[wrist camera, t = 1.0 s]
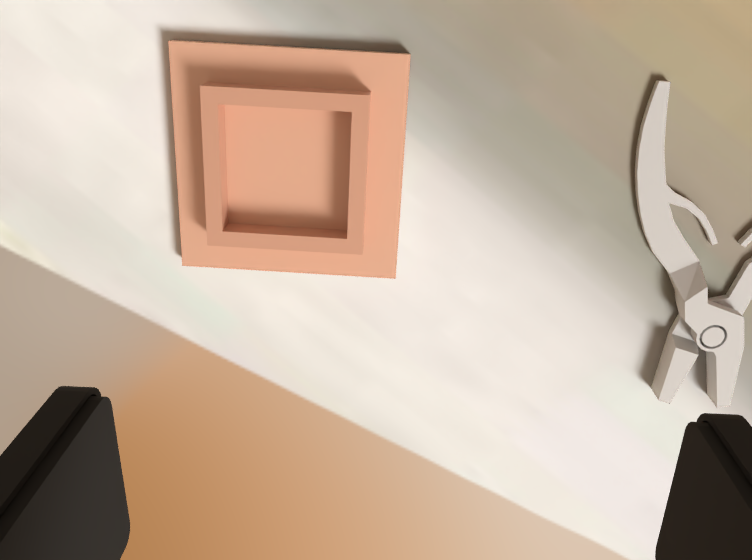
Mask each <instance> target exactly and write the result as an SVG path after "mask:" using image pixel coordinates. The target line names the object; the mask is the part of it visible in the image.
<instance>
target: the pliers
mask: <svg viewBox="0 0 752 560" xmlns="http://www.w3.org/2000/svg"><path fill="white" fill-rule="evenodd" d="M669 90H670V82H669V81H663V80H656V82H655V84H654V87H653V90H652V92H651V95H650V98H649V101H648V103H647V106H646V110H645V113H644V116H643V119H642V123H641V126H640V132H639V138H638V143H637V149H636V161H635V191H636V199H637V207H638V213H639V217H640V222H641V226H642V230H643V233H644V235H645V237H646V240H647V242H648V245H649V247H650V249H651V251H652V252H653V253H654V255H655V256H656V257H657V259H658V260H659V261H660V263H661V264H662V265H663V267H664V268H665V269H666V270H667V273H668V275H669V278H670V280H671V282H672V285H673V287H674V290H675V300H676V304H677V307H678V311H679V314H678V315H677V317H676V319H675V321H674V323H673V324H672V326H671V328H670V330H669V332H668V335H667V338H666V342H665V345H664V348H663V351H662V354H661V357H660V360H659V364H658V367H657V370H656V373H655V376H654V379H653V382H652V385H651V389H652V390H653V392H654V394H655V395H656V397H657V399H658V400H659V401H662V402H666V403H669V404H670V402H671V401H672V399H673V397H674V396H675V394H676V392H677V391H678V389H679V387H680V386H681V384H682V382H683V381H684V379H685V377H686V376H687V374H688V372H689V371H690V369H691V367H692V366H693V364H694V362H695V361H696V359H697V357H698V355H699V351H698V346H699V347H700V348H701V349H702V350H704V351H706V374H707V395H708V396H709V398H710V399H711V400H712V402H713V403H714V404H715V406H716V407H717V408H721V407H728V406H730V404H731V400H732V396H733V391H734V387H735V383H736V379H737V375H738V370H739V366H740V362H741V358H742V354H743V349H744V317H743V316H742V315H743V313H744V311H745V310H746V308H747V306H748V304H749V303H750V301H751V299H752V257H751V258H749V259H748V260H747V261H745V263H744V264H743V266H742V268H741V270H740V271H739V273H738V275H737V276H736V278H735V280H734V281H733V283H732V285H731V286H730V288H729V290H728V292H727V293H726V295H722V296H716V297H711V298H708V288H707V284H706V281H705V277H704V274H703V271H702V268H701V265H700V261H699V260H698V258H697V257H696V255H695V254H694V252H693V251H692V249H691V248H690V246H689V245H688V243H687V242H686V240H685V239H684V237H683V236H682V234H681V232H680V230H679V229H678V227H677V225H676V224H675V222H674V220H673V216H672V212H671V209H670V205H669V203H671V204H674V205H677V206H680V207H684V208H687V209H688V210H689V211H690V212H691V213H693V214H694V215H695V216H696V217H697V219H698V221H699V222H700V224H701V225H702V227H703V229H704V231H705V234H706V236H707V238H708V241H709V243H710V244H712V245H714V244H717V243H718V242H717V239H716V237H715V234H714V231H713V228H712V227H711V225H710V223H709V221H708V219H707V218H706V216H705V214H704V213H703V212H702V211H701V210H700V209H699V208H698V207H696V206H695V205H694V204H693V203H692V202H691V201H690V200H688V199H687V198H685V197H683V196H681V195H679V194H678V193H676V192H674V191H673V190H672V189H671V188H670V187H669V186H668V185H667V184H666V174H665V153H664V145H665V129H666V116H667V105H668V97H669ZM751 241H752V227H751V228H750V229H749V230H748V231H747V232H746V233H745V234H744V235H743V236H742V237H741V238H740V239H739V240H738V243H739V244H741V245H742V246H744V247H746V246H747V245H748V244H749V243H750V242H751Z"/></svg>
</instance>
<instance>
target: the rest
mask: <svg viewBox="0 0 752 560" xmlns="http://www.w3.org/2000/svg"><path fill="white" fill-rule="evenodd" d="M168 44H169V60H170V76H171V92H172V108H173V124H174V140H175V156H176V171H177V187H178V203H179V219H180V235H181V251H182V266H196V267H213V268H229V269H246V270H262V271H279V272H295V273H312V274H328V275H345V276H361V277H377V278H394V279H395V278H396V263H397V248H398V233H399V218H400V203H401V189H402V174H403V159H404V144H405V129H406V115H407V100H408V85H409V70H410V55H411V54H410V53H395V52H377V51H359V50H342V49H324V48H307V47H289V46H271V45H254V44H236V43H219V42H201V41H183V40H170V41H168Z"/></svg>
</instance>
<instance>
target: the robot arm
mask: <svg viewBox="0 0 752 560" xmlns="http://www.w3.org/2000/svg"><path fill="white" fill-rule="evenodd" d="M129 533H130V520H129V514H128V507H127V501H126V494H125V488H124V482H123V475H122V469H121V462H120V456H119V450H118V444H117V436H116V431H115V425H114V417H113V411H112V405H111V401H110V399H109V398H108V397H101V394H100V392H99V390H98V389H97V388H95V387H93V388H92V387H72V386H61V387H59V388H58V389H56V390H55V391H54V392H53V393H52V395H51V396H50V397H49V398H48V399H47V401H46V402H45V403H44V404H43V405H42V407H41V408H40V409H39V410H38V411H37V413H36V414H35V415H34V416H33V417H32V419H31V420H30V421H29V422H28V423H27V425H26V426H25V427H24V428H23V429H22V431H21V432H20V433H19V434H18V435H17V437H16V438H15V439H14V440H13V441H12V443H11V444H10V445H9V446H8V447H7V449H6V450H5V451H4V452H3V453H2V454H1V456H0V560H120V558H121V556H122V554H123V552H124V550H125V548H126V545H127V542H128V539H129ZM655 557H656V560H752V427H751V426H750V424H749V423H748V422H747V420H746V419H745V418H744V417H743V416H740V415H732V414H708V413H704V414H701V415H700V416H699V418H698V419H697V422H690V423H688V425H687V426H686V429H685V433H684V437H683V441H682V445H681V449H680V453H679V457H678V461H677V465H676V469H675V473H674V477H673V481H672V485H671V489H670V493H669V497H668V501H667V505H666V509H665V513H664V517H663V522H662V526H661V530H660V534H659V538H658V542H657V546H656V556H655Z"/></svg>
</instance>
